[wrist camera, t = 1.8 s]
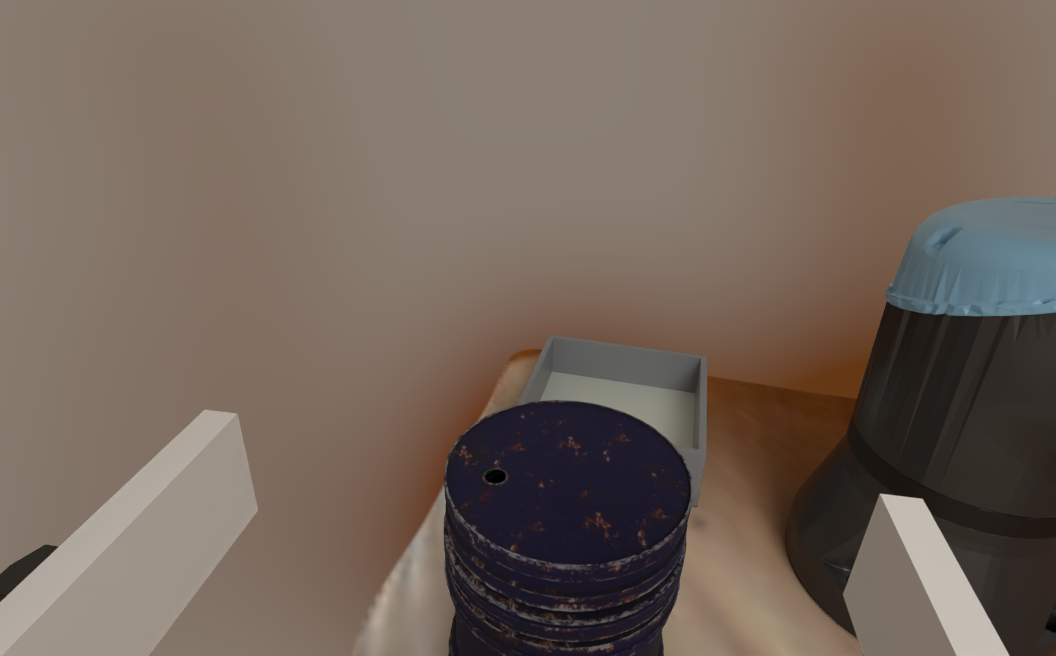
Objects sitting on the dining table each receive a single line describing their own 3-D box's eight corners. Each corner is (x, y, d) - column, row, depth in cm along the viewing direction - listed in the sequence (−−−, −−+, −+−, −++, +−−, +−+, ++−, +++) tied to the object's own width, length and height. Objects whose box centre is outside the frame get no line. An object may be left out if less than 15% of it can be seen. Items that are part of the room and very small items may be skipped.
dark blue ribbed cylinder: (619, 608, 37) (648, 391, 30) (683, 794, 29) (743, 551, 22) (445, 630, 36) (434, 407, 29) (458, 834, 27) (446, 586, 20)
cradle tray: (699, 400, 57) (707, 356, 54) (696, 506, 45) (706, 455, 43) (547, 377, 59) (549, 334, 57) (507, 471, 48) (508, 421, 45)
